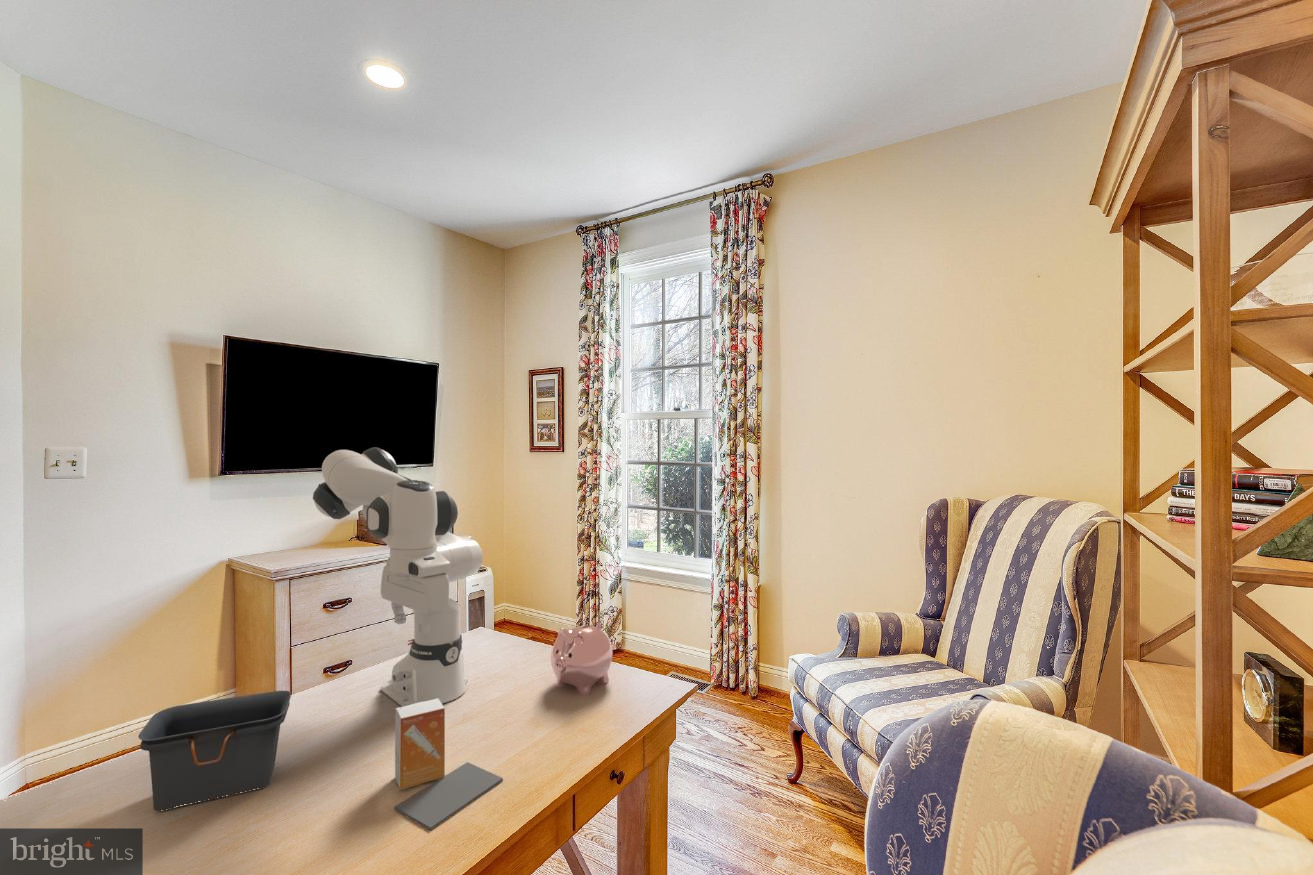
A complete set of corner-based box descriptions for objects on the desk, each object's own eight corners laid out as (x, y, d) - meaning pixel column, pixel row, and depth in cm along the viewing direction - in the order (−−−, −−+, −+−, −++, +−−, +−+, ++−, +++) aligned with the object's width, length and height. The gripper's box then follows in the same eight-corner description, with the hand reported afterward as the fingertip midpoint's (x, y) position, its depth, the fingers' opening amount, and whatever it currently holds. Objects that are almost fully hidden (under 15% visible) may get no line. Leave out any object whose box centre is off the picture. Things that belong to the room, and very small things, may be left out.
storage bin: (291, 755, 113) (293, 685, 113) (282, 798, 100) (284, 719, 100) (156, 784, 103) (158, 708, 103) (125, 837, 89) (127, 749, 90)
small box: (399, 791, 101) (399, 718, 102) (394, 776, 106) (394, 707, 107) (445, 777, 105) (445, 707, 106) (438, 763, 111) (438, 697, 112)
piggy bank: (535, 690, 144) (536, 629, 144) (579, 666, 159) (580, 611, 160) (581, 705, 136) (582, 640, 136) (623, 679, 151) (623, 621, 152)
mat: (394, 809, 97) (394, 806, 97) (467, 764, 111) (467, 761, 111) (430, 830, 92) (430, 827, 92) (502, 780, 105) (502, 777, 105)
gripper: (373, 555, 116) (371, 621, 116) (425, 570, 104) (424, 643, 104) (402, 551, 121) (400, 614, 121) (455, 564, 109) (454, 634, 109)
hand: (412, 627), depth 112 cm, fingers open, 8 cm apart
